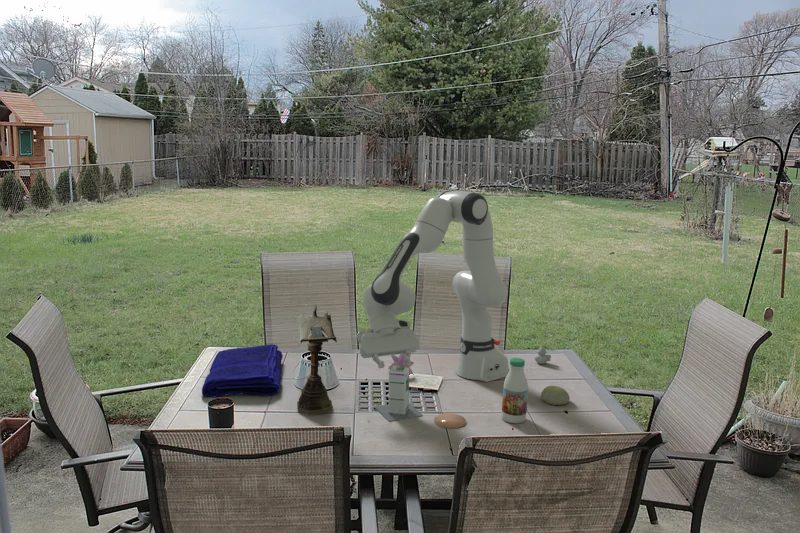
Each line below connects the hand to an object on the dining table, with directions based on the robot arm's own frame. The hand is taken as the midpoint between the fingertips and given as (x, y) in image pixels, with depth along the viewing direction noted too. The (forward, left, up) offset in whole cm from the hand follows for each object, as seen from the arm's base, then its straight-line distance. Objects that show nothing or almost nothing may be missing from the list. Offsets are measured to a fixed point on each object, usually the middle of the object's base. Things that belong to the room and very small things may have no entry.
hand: (395, 365), depth 209 cm
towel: (+40, -44, -15) cm, 61 cm away
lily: (-15, -26, -15) cm, 33 cm away
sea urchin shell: (-54, +15, -15) cm, 58 cm away
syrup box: (0, +3, -15) cm, 15 cm away
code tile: (0, +3, -15) cm, 15 cm away
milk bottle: (-32, +22, -15) cm, 42 cm away
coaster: (-12, +16, -15) cm, 25 cm away
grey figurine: (-74, -18, -15) cm, 78 cm away
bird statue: (+24, -7, -15) cm, 29 cm away
